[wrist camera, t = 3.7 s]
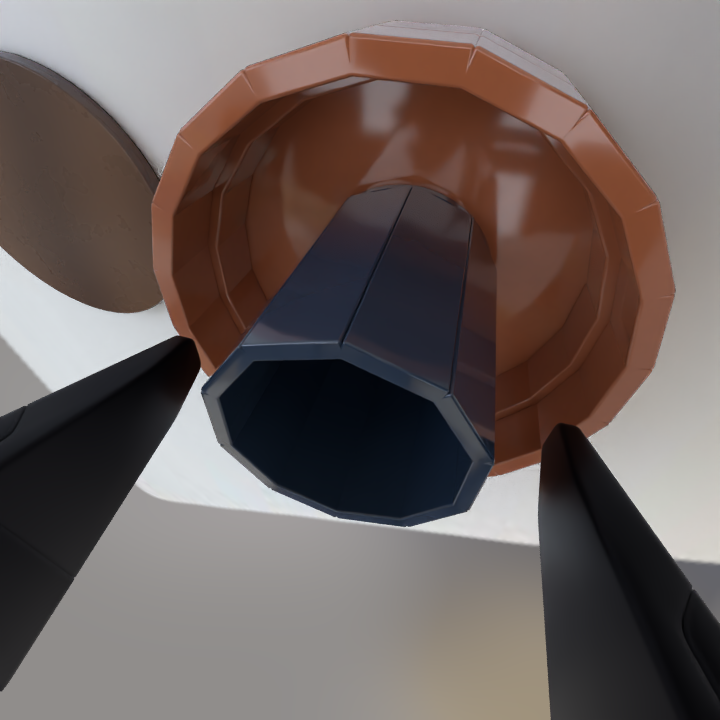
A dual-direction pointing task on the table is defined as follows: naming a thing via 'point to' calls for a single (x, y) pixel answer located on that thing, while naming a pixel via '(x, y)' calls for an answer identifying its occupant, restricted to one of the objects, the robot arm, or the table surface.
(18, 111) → the coaster
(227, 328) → the bowl
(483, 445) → the cup
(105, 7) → the table surface
